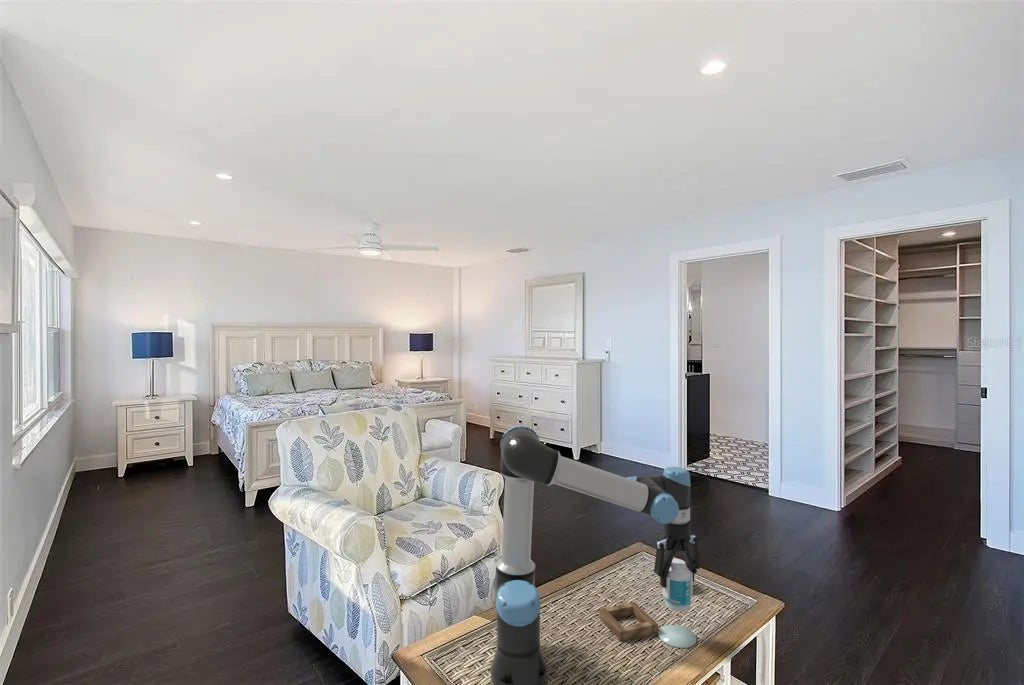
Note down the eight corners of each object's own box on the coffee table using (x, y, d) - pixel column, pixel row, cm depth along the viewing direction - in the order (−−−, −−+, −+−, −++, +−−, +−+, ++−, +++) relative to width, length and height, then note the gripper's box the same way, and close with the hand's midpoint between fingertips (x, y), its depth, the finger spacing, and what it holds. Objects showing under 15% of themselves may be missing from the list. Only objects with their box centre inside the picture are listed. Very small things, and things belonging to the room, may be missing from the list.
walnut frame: (620, 641, 150) (620, 632, 150) (599, 617, 163) (599, 609, 163) (657, 632, 154) (657, 623, 154) (634, 610, 167) (634, 602, 167)
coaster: (672, 651, 145) (672, 650, 145) (651, 629, 156) (651, 628, 156) (704, 643, 149) (704, 642, 149) (681, 623, 159) (681, 621, 159)
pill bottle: (692, 614, 148) (691, 568, 147) (666, 611, 149) (665, 566, 149) (688, 600, 155) (688, 557, 155) (663, 598, 157) (663, 555, 156)
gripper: (655, 529, 145) (655, 607, 145) (713, 519, 151) (713, 594, 152) (640, 519, 152) (641, 594, 152) (697, 511, 158) (697, 582, 159)
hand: (677, 594), depth 152 cm, fingers closed on pill bottle, 7 cm apart
